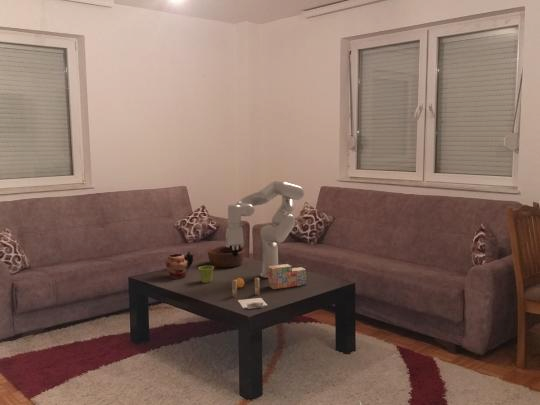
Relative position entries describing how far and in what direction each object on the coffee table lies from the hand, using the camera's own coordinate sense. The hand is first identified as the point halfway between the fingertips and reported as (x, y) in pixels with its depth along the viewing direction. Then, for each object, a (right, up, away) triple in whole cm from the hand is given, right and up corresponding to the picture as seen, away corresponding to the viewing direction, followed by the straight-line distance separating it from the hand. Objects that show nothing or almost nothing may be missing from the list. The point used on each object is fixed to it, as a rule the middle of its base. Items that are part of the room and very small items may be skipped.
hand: (235, 256), depth 325 cm
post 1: (+1, -20, -24) cm, 31 cm away
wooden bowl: (-9, -11, +49) cm, 51 cm away
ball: (+3, -15, -7) cm, 17 cm away
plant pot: (-18, -16, +7) cm, 25 cm away
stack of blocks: (+31, -17, -4) cm, 35 cm away
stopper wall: (+13, -22, -43) cm, 50 cm away
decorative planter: (-38, -15, +20) cm, 45 cm away
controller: (-36, -12, +41) cm, 56 cm away
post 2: (+14, -19, -20) cm, 31 cm away
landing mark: (+11, -21, -35) cm, 43 cm away
